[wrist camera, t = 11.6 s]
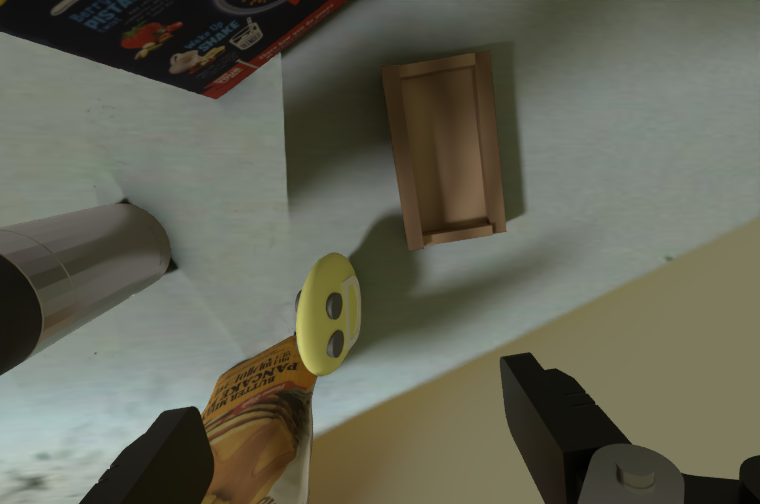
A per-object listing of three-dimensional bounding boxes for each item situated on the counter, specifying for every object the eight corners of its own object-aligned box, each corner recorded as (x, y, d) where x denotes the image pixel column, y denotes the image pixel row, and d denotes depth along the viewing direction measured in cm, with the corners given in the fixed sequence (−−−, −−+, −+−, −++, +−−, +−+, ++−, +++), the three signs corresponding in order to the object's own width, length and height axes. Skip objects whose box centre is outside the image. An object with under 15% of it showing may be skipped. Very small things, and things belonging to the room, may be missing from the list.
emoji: (369, 242, 45) (317, 272, 34) (371, 346, 47) (324, 405, 36) (335, 240, 46) (275, 269, 35) (340, 341, 49) (285, 397, 38)
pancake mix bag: (359, 358, 49) (331, 621, 22) (225, 428, 51) (49, 743, 24) (329, 311, 48) (259, 530, 20) (192, 385, 50) (-32, 669, 23)
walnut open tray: (406, 240, 46) (409, 250, 41) (381, 75, 41) (381, 66, 37) (498, 226, 45) (510, 234, 41) (482, 57, 41) (494, 46, 37)
